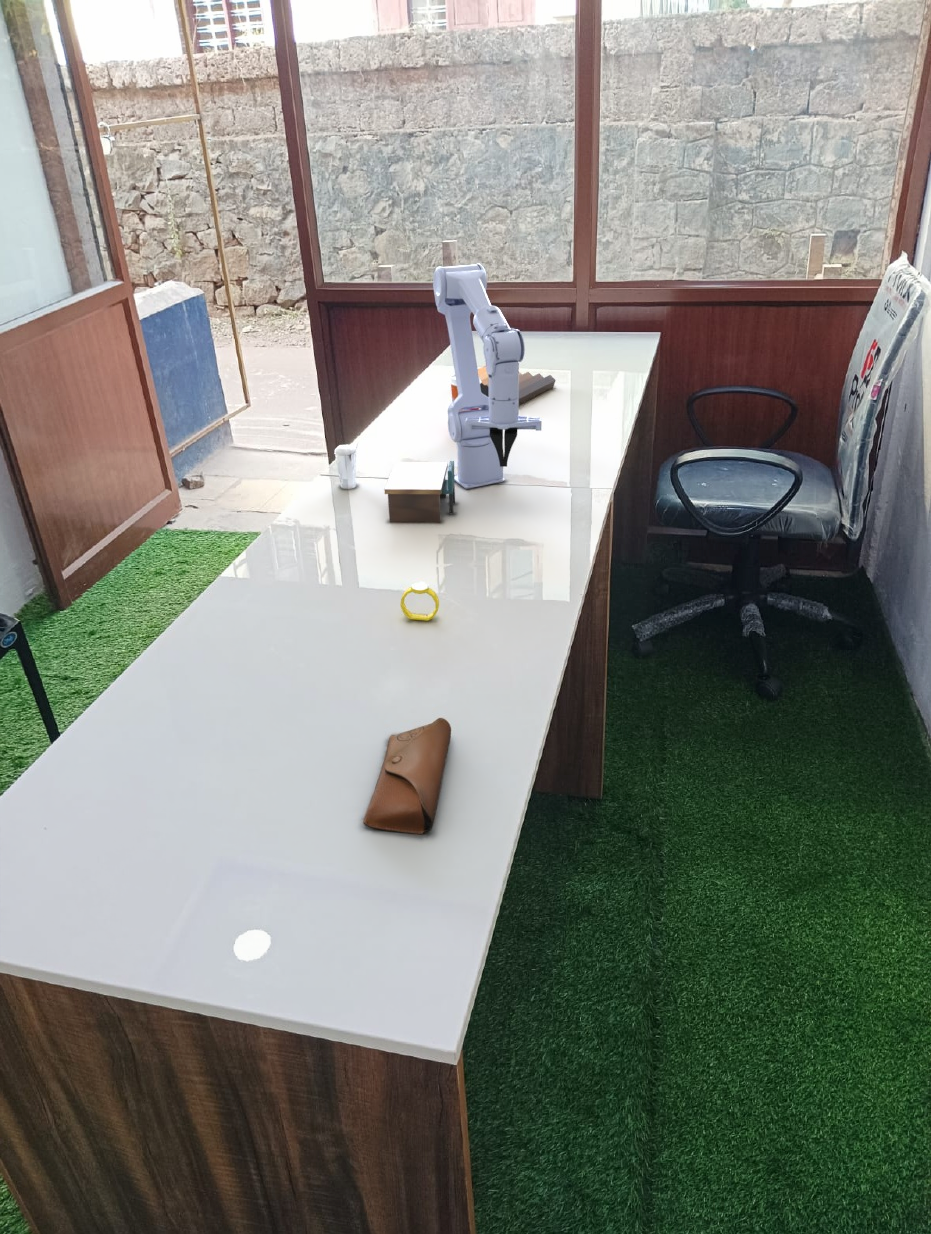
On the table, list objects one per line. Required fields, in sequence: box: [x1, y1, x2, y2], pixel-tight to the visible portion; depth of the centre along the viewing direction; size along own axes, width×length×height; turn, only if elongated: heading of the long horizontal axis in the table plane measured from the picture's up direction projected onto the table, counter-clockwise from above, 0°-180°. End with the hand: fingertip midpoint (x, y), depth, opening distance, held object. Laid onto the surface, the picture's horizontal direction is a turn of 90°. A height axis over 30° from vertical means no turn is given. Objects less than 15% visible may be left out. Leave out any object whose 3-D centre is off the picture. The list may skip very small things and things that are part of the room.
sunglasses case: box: [362, 717, 452, 835], centre depth 111 cm, size 18×7×7 cm
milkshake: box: [334, 442, 360, 490], centre depth 195 cm, size 4×5×10 cm
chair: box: [442, 460, 456, 515], centre depth 183 cm, size 8×6×9 cm
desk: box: [384, 461, 449, 524], centre depth 184 cm, size 11×15×7 cm
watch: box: [400, 581, 440, 622], centre depth 145 cm, size 6×3×6 cm, turn 84°
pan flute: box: [477, 365, 556, 406], centre depth 257 cm, size 25×3×25 cm
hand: (503, 464), depth 180 cm, fingers closed
